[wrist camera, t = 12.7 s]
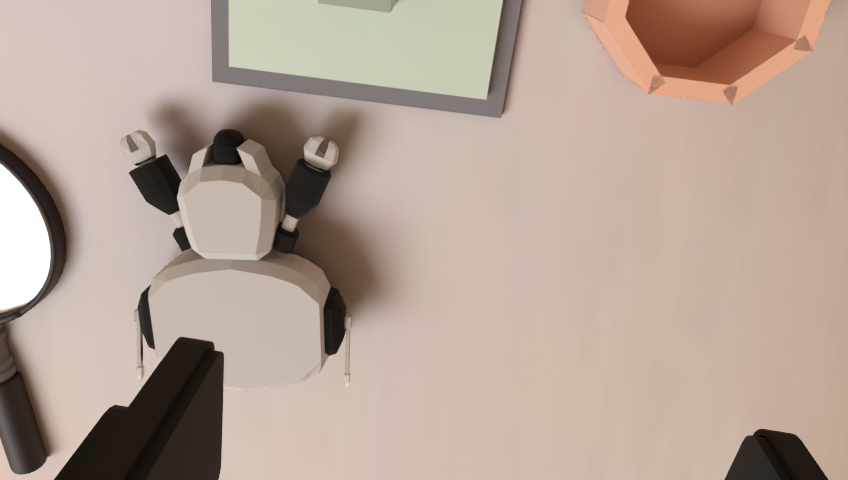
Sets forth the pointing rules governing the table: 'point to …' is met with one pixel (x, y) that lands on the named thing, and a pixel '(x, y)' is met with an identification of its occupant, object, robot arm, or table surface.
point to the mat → (365, 91)
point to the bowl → (705, 42)
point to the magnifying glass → (24, 294)
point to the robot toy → (240, 261)
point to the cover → (370, 41)
